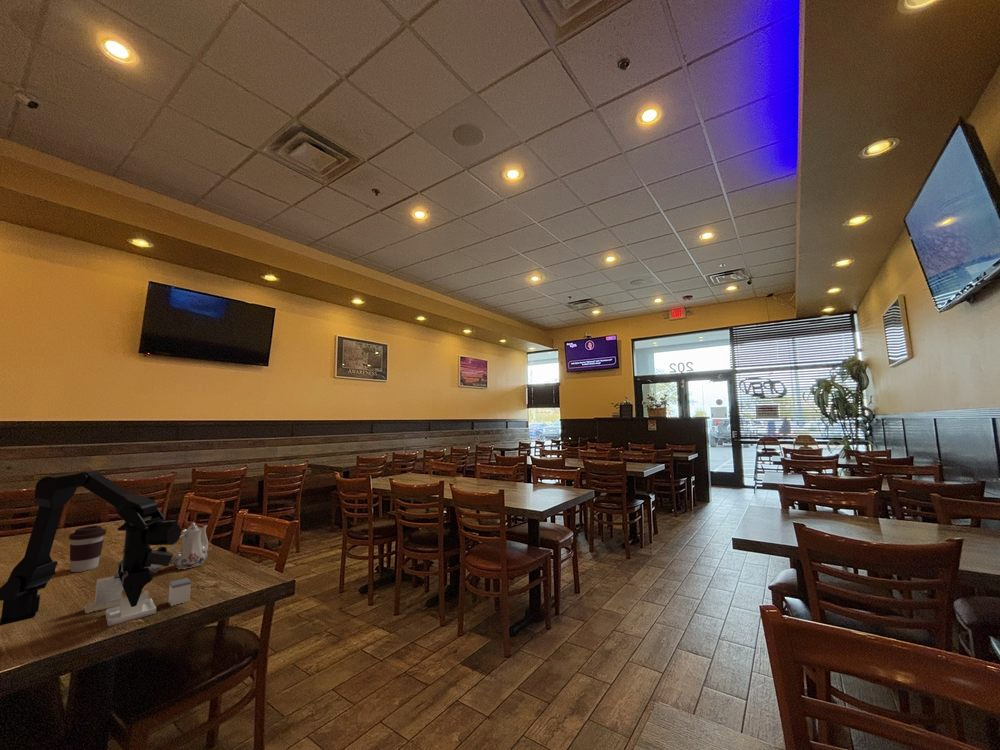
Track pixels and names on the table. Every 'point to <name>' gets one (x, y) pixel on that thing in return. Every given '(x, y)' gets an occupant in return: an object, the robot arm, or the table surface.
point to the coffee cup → (86, 548)
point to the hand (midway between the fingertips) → (131, 601)
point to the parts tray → (115, 618)
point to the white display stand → (108, 594)
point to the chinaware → (189, 549)
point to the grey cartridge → (179, 591)
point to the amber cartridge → (126, 607)
